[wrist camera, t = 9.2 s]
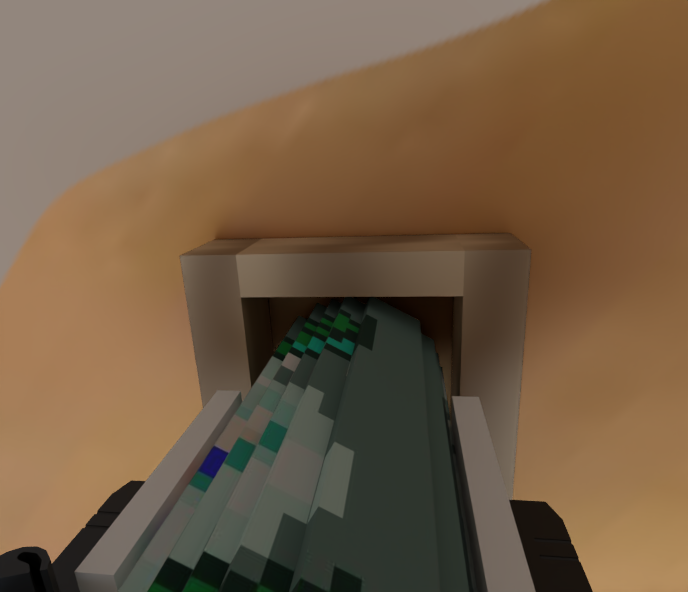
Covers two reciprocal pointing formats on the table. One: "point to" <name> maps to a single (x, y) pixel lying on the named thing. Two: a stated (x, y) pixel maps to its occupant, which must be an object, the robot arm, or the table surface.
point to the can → (326, 472)
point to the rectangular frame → (368, 281)
